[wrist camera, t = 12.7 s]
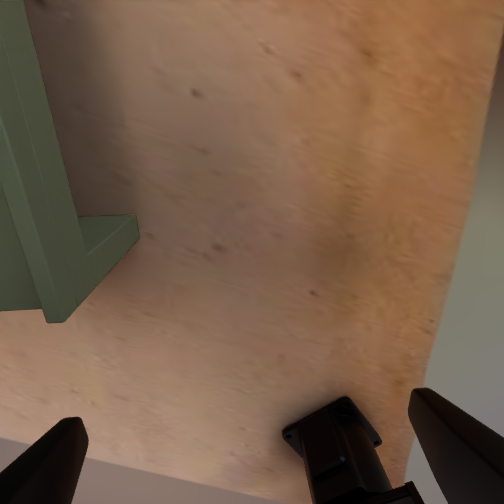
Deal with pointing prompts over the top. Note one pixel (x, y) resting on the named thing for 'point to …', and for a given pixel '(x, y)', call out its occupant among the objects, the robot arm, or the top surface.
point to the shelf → (43, 194)
